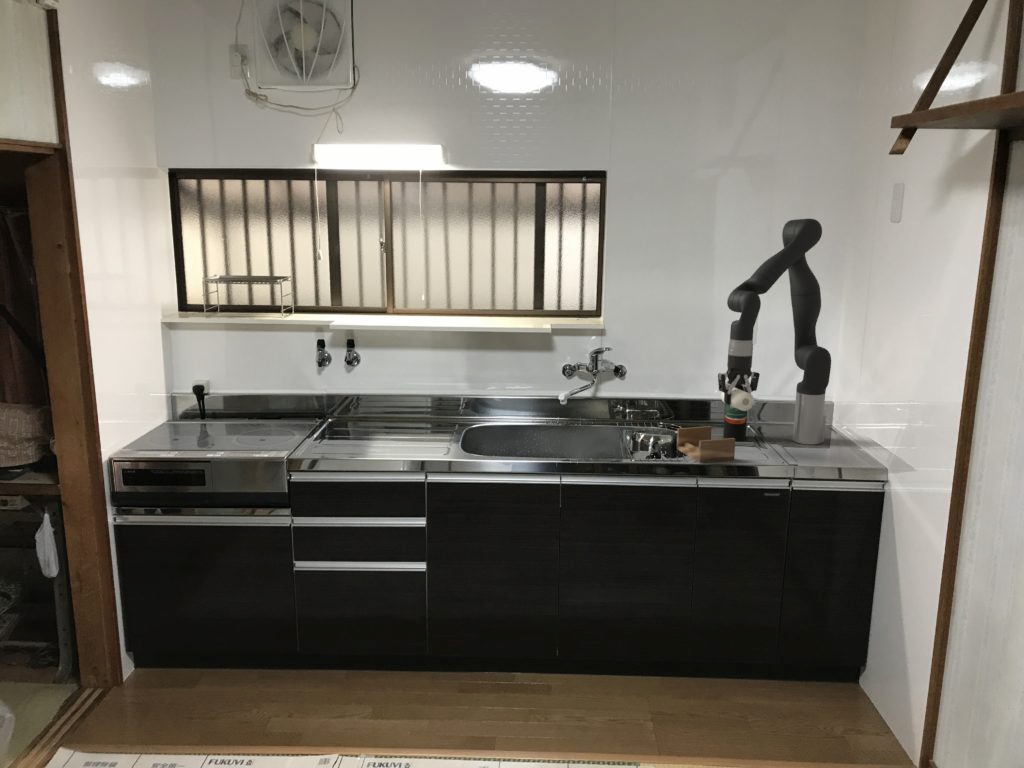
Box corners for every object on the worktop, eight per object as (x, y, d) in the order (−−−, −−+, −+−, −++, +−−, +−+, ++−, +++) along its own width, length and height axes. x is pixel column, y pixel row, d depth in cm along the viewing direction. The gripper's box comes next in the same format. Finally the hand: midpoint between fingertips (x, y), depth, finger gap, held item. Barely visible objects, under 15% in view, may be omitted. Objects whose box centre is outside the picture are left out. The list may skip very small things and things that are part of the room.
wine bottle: (748, 437, 265) (752, 352, 259) (742, 442, 258) (747, 356, 252) (726, 434, 268) (730, 351, 262) (720, 439, 262) (724, 354, 256)
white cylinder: (717, 395, 249) (729, 382, 249) (728, 407, 251) (740, 394, 251) (733, 402, 239) (746, 388, 239) (745, 414, 241) (757, 400, 241)
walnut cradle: (676, 448, 252) (677, 428, 250) (709, 446, 255) (710, 425, 253) (699, 463, 237) (700, 441, 235) (734, 459, 239) (735, 438, 238)
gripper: (753, 350, 247) (750, 400, 250) (714, 352, 243) (711, 402, 247) (766, 354, 240) (762, 405, 243) (726, 355, 236) (722, 408, 240)
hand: (736, 404), depth 245 cm, fingers closed on white cylinder, 6 cm apart
